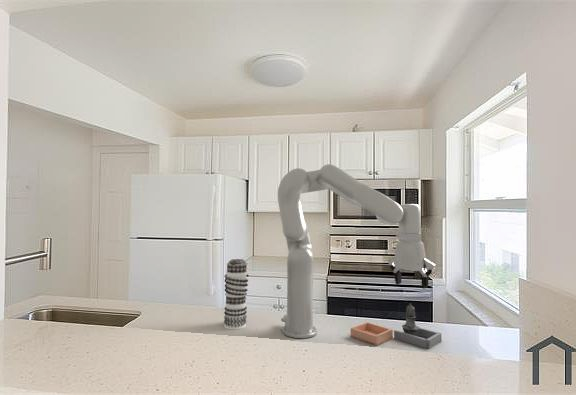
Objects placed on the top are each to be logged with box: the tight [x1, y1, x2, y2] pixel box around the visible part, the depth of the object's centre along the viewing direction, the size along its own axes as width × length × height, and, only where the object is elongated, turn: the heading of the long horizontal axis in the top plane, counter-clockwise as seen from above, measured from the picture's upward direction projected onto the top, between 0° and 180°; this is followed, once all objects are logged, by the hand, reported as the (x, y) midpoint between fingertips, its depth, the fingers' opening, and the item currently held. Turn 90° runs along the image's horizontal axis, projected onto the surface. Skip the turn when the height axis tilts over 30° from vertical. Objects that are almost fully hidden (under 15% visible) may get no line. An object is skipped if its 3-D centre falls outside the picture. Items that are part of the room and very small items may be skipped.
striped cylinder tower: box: [223, 258, 249, 331], centre depth 120 cm, size 9×9×25 cm
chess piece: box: [401, 302, 421, 336], centre depth 111 cm, size 6×6×12 cm
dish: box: [350, 321, 394, 347], centre depth 110 cm, size 10×10×3 cm
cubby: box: [393, 326, 442, 350], centre depth 109 cm, size 12×10×2 cm
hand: (411, 285), depth 112 cm, fingers open, 9 cm apart
